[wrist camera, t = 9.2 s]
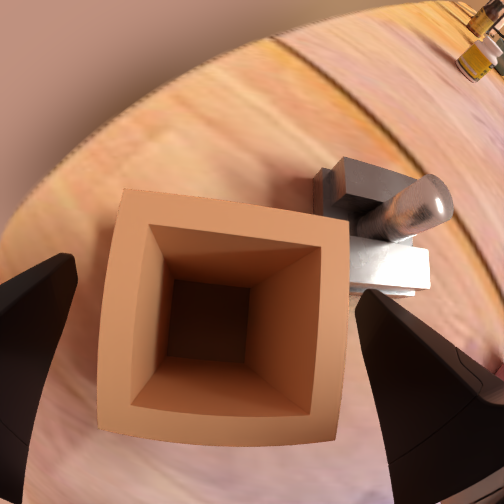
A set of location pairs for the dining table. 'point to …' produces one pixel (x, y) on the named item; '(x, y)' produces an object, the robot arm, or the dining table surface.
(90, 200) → the dining table surface
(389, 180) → the vise
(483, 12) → the sauce bottle
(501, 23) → the coffee press
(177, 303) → the walnut block
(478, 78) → the supplement bottle
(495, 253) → the dining table surface
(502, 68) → the flower pot
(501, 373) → the video game controller
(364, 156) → the dining table surface
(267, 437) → the sleeve
